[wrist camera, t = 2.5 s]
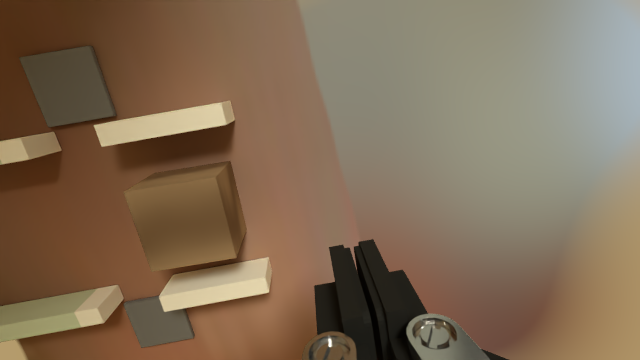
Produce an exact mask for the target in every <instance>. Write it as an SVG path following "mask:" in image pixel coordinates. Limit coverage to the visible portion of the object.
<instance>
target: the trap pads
mask: <svg viewBox="0 0 640 360" xmlns="http://www.w3.org/2000/svg"><path fill="white" fill-rule="evenodd" d="M19 59H20V62H21V64H22V66H23V69H24V71H25V73H26V76H27V78H28V80H29V83H30V85H31V88H32V90H33V92H34V95H35V97H36V99H37V102H38V104H39V106H40V109H41V111H42V114H43V116H44V118H45V121H46V123H47V125H48V127H54V126H59V125H65V124H71V123H76V122H82V121H88V120H94V119H99V118H105V117H111V116H117V115H116V112H115V109H114V106H113V103H112V101H111V98H110V95H109V92H108V89H107V86H106V84H105V81H104V78H103V75H102V72H101V69H100V67H99V64H98V61H97V58H96V55H95V53H94V50H93V47H92V46H84V47H78V48H72V49H66V50H60V51H55V52H49V53H43V54H37V55H31V56H25V57H20V58H19ZM123 305H124V308H125V310H126V312H127V315H128V317H129V319H130V322H131V324H132V327H133V329H134V331H135V334H136V336H137V338H138V341H139V343H140V345H141V348H143V347H148V346H154V345H159V344H164V343H170V342H175V341H181V340H186V339H191V338H194V332H193V329H192V326H191V324H190V321H189V318H188V315H187V312H186V310H185V308H183V309H178V310H172V311H167V312H164V310H163V307H162V304H161V302H160V299H159V296H155V297H149V298H144V299H138V300H133V301H128V302H125V303H124V304H123Z"/></svg>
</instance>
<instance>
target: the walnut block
mask: <svg viewBox="0 0 640 360" xmlns="http://www.w3.org/2000/svg"><path fill="white" fill-rule="evenodd" d="M124 195H125V198H126V201H127V204H128V207H129V209H130V212H131V215H132V218H133V221H134V224H135V226H136V229H137V232H138V235H139V238H140V241H141V243H142V246H143V249H144V252H145V255H146V258H147V260H148V263H149V266H150V269H151V272H154V271H160V270H166V269H172V268H178V267H185V266H191V265H197V264H203V263H209V262H215V261H221V260H227V259H233V258H237V255H238V252H239V249H240V246H241V244H242V241H243V238H244V235H245V233H246V230H247V228H246V224H245V220H244V216H243V212H242V208H241V203H240V199H239V195H238V191H237V187H236V182H235V178H234V174H233V170H232V166H231V162H230V161H227V162H221V163H215V164H208V165H202V166H196V167H189V168H183V169H177V170H171V171H164V172H158V173H154V174H152V175H151V176H149V177H147V178H146V179H144V180H142V181H141V182H139V183H138V184H136V185H134V186H133V187H131V188H129V189H128V190H126V191H124Z"/></svg>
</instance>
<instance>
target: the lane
mask: <svg viewBox="0 0 640 360" xmlns="http://www.w3.org/2000/svg"><path fill="white" fill-rule="evenodd" d="M234 120H235V118H234V114H233V110H232V105H231V101H226V102H220V103H214V104H209V105H203V106H197V107H192V108H186V109H180V110H175V111H169V112H163V113H157V114H152V115H146V116H140V117H135V118H129V119H123V120H118V121H113V122H108V123H103V124H98V125H94V128H95V130H96V133H97V136H98V138H99V141H100V143H101V146H102V147H104V146H109V145H115V144H121V143H126V142H132V141H138V140H143V139H149V138H155V137H160V136H166V135H172V134H177V133H183V132H189V131H194V130H200V129H206V128H211V127H217V126H223V125H227V124H229V123H231V122H232V121H234ZM58 151H62V149H61V147H60V145H59V142H58V140H57V137H56V135H55V133H54V132H49V133H43V134H37V135H32V136H26V137H20V138H15V139H9V140H3V141H0V165H1V164H7V163H13V162H18V161H24V160H30V159H33V158H37V157H40V156H44V155H48V154H51V153H55V152H58ZM271 276H272V269H271V265H270V261H269V257H267V258H261V259H256V260H250V261H245V262H240V263H234V264H229V265H223V266H218V267H212V268H207V269H201V270H196V271H190V272H185V273H179V274H174V275H173V276H172V277H171V279H170V280H169V282H168V283H167V285H166V286H165V288H164V289H163V291H162V292H161V294H160V295H159V299H160V302H161V304H162V307H163V310H164V312H167V311H172V310H178V309H183V308H188V307H194V306H199V305H205V304H210V303H215V302H221V301H226V300H232V299H237V298H243V297H248V296H253V295H259V294H264V293H269V290H270V283H271ZM123 299H124V297H123V295H122V293H121V290H120V288H119V285H114V286H108V287H103V288H97V289H92V290H86V291H81V292H76V293H70V294H65V295H59V296H54V297H48V298H43V299H37V300H32V301H26V302H21V303H15V304H10V305H4V306H0V342H4V341H9V340H15V339H21V338H26V337H31V336H37V335H42V334H48V333H53V332H58V331H64V330H69V329H75V328H80V327H86V326H91V325H96V324H102V323H105V321H106V320H107V319H108V318H109V316H110V315H111V314H112V313H113V311H114V310H115V309H116V308H117V306H118V305H119V304H120V303H121V302H122V300H123Z"/></svg>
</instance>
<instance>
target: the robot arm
mask: <svg viewBox="0 0 640 360" xmlns="http://www.w3.org/2000/svg"><path fill="white" fill-rule="evenodd" d="M329 249H330V255H331V261H332V266H333V272H334V278H335V282H332V283H327V284H321V285H315V286H314V289H315V304H316V320H317V336H315V337H314V338H313V339H311V340H310V341H309V342H308V344H307V345H306V346H305V349H304V351H303V355H302V360H508V359H505V358H503V357H500V356H498V355H495V354H493V353H490V352H488V351H485V350H483V349H480V348H479V347H478V345H477V344H476V343H475V342H474V341H473V340H472V339H471V338H470V337H469V336H468V335H467V334H466V332H465V331H464V330H463V329H462V328H461V327H460V326H459V325H458V324H457V323H456V322H454V321H453V320H452V319H449V318H448V317H446V316H442V315H438V314H428V313H427V311H426V309H425V308H424V306H423V304H422V302H421V300H420V299H419V297H418V295H417V293H416V292H415V290H414V288H413V287H412V285H411V283H410V281H409V279H408V278H407V276H406V274H405V272H404V271H403V270H399V271H394V272H389V271H388V269H387V267H386V265H385V263H384V261H383V259H382V257H381V254H380V252H379V251H378V248H377V246H376V244H375V242H374V240H373V239H372V240H367V241H361V242H359V246H355V247H354V253H355V259H356V266H357V270H356V267H355V264H354V260H353V257H352V254H351V251H350V248H344V246H343V245H339V246H333V247H329ZM357 272H358V273H357Z"/></svg>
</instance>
